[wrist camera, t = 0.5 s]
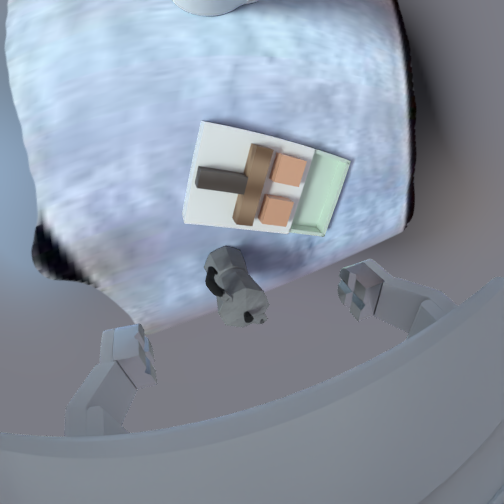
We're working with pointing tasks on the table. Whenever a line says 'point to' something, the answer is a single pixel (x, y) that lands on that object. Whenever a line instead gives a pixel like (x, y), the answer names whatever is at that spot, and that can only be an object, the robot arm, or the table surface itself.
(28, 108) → the table surface
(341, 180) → the box
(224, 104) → the table surface
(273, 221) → the tile
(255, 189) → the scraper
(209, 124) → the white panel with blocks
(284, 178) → the tile
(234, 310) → the coffeepot
